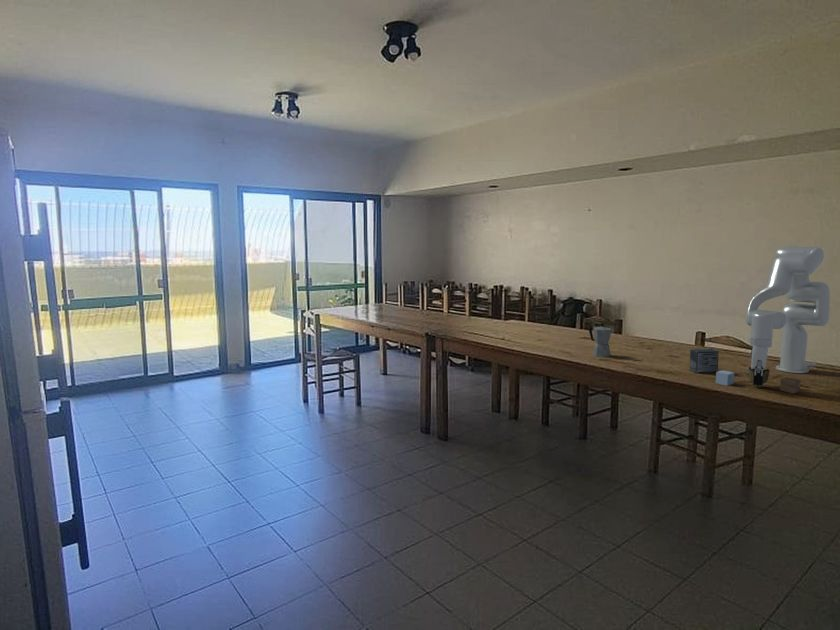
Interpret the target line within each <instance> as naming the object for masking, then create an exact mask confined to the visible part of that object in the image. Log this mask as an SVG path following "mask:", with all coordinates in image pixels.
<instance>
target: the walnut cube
mask: <svg viewBox="0 0 840 630" xmlns="http://www.w3.org/2000/svg"><path fill="white" fill-rule="evenodd" d="M779 391H781V392H786V393H789V394H796V393H799V392H801V379H798V378H794V377H793V378H792V377H789V376H786V377H782V378H780V387H779Z"/></svg>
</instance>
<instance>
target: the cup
mask: <svg viewBox="0 0 840 630" xmlns="http://www.w3.org/2000/svg"><path fill="white" fill-rule="evenodd" d="M770 372H771V370H770V369H769V368H767V369H766V368H765V370H764V371H763V375H762V376H763V385H754V384H753V380H754V375H755V369H753V370H752V369H751V366H749V367H748V379H749V381H750V383H752V387H754V388H757V389H761V388H763V387H764V384H767V382H768V380H769V375H770Z"/></svg>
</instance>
